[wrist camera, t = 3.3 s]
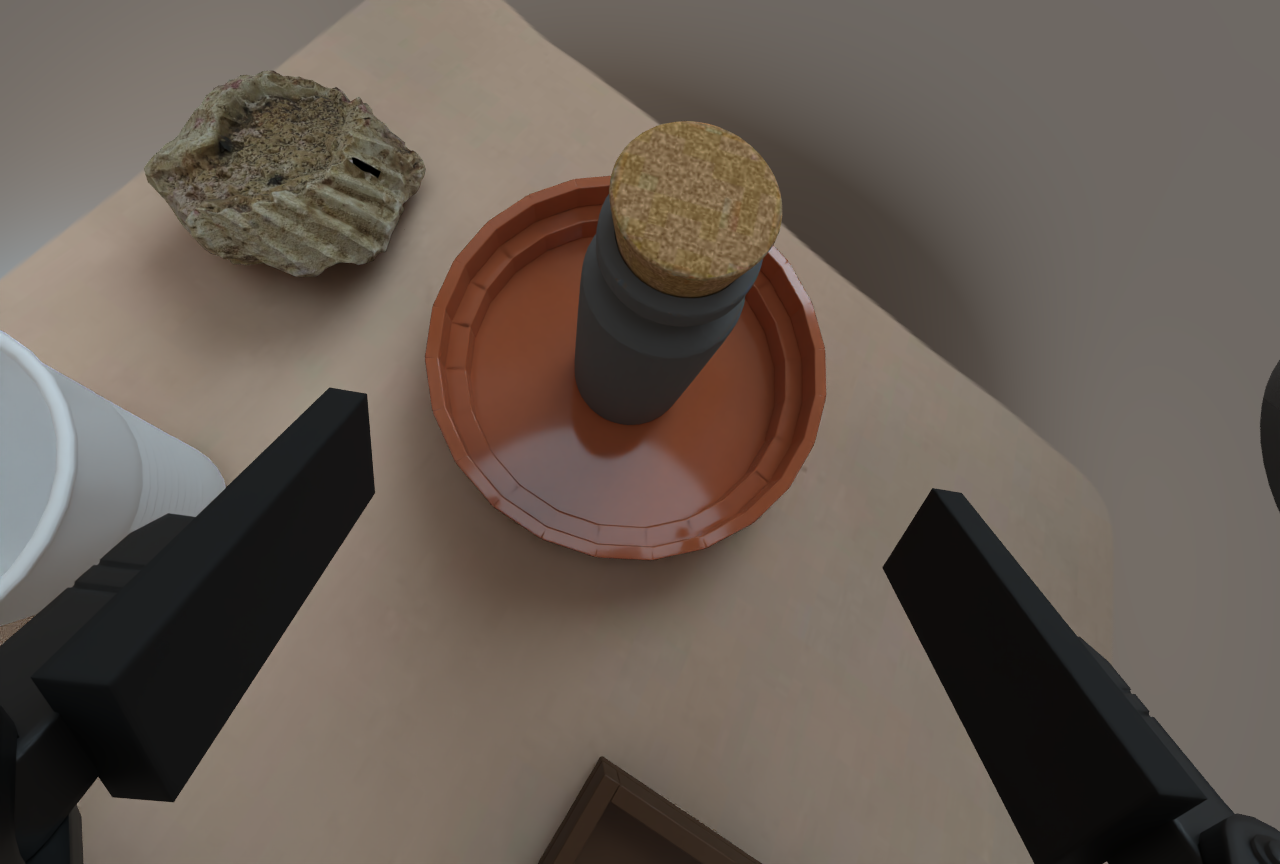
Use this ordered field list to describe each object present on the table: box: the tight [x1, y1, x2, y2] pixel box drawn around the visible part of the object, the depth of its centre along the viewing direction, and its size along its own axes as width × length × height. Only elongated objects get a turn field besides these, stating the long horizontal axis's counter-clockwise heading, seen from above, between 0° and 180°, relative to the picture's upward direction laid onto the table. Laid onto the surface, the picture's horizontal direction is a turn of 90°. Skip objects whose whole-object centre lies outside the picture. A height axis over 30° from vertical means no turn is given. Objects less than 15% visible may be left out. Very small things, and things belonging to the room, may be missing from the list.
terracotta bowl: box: [425, 176, 826, 560], centre depth 27 cm, size 19×19×4 cm
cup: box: [0, 330, 226, 626], centre depth 19 cm, size 10×10×11 cm
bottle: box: [575, 121, 782, 425], centre depth 21 cm, size 6×6×15 cm
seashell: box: [144, 71, 426, 277], centre depth 26 cm, size 11×7×10 cm
